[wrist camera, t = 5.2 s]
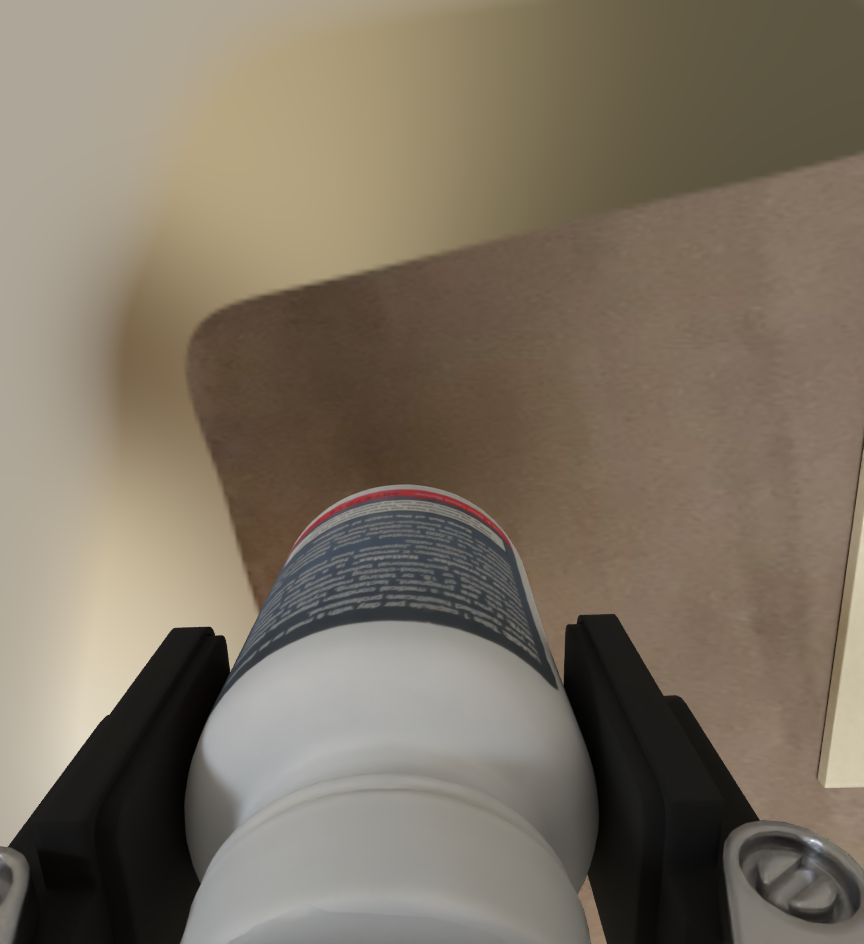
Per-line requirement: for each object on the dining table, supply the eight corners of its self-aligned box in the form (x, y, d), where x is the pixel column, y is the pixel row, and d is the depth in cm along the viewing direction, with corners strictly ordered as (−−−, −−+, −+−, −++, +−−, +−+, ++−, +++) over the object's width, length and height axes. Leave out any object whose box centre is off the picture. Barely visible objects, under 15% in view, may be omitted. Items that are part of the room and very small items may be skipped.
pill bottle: (239, 534, 14) (-70, 950, 5) (473, 440, 13) (565, 726, 5) (345, 734, 15) (241, 1329, 6) (560, 656, 14) (757, 1186, 6)
